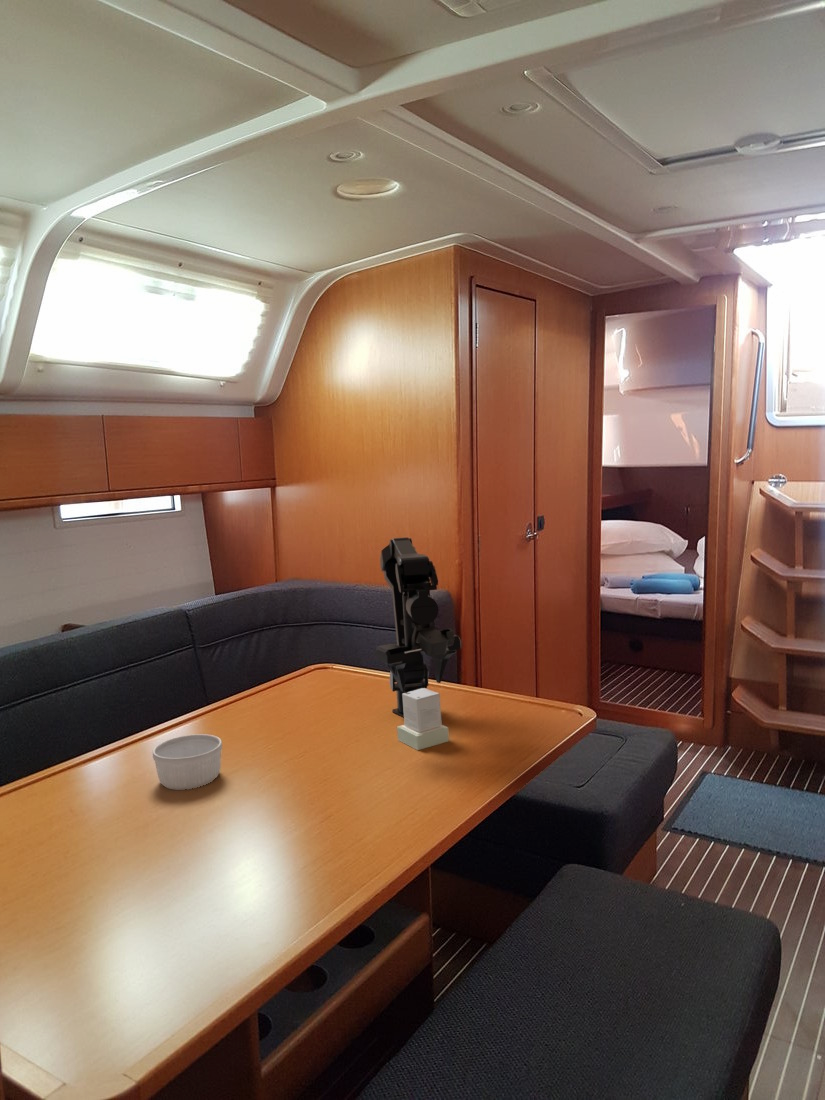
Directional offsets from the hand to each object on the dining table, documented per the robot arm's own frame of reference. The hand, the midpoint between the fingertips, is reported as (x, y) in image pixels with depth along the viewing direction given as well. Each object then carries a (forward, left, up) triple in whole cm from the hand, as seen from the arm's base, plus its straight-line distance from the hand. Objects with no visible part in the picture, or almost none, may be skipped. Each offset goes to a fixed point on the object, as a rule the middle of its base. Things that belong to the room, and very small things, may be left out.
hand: (421, 686), depth 164 cm
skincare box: (0, 0, -9) cm, 9 cm away
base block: (0, 0, -12) cm, 12 cm away
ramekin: (-13, -47, -12) cm, 50 cm away
